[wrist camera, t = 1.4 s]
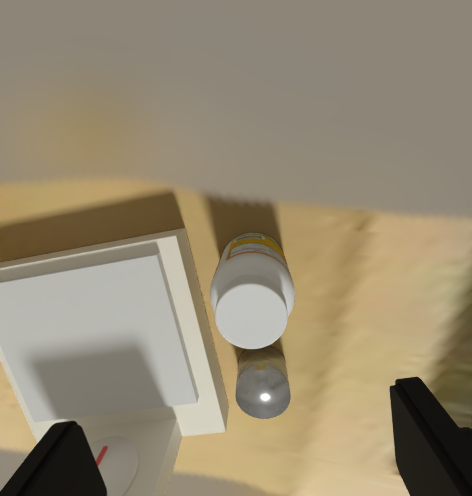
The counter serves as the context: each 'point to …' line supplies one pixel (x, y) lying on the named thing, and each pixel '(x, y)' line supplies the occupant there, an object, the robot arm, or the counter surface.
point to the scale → (114, 353)
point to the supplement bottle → (252, 291)
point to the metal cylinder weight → (262, 383)
